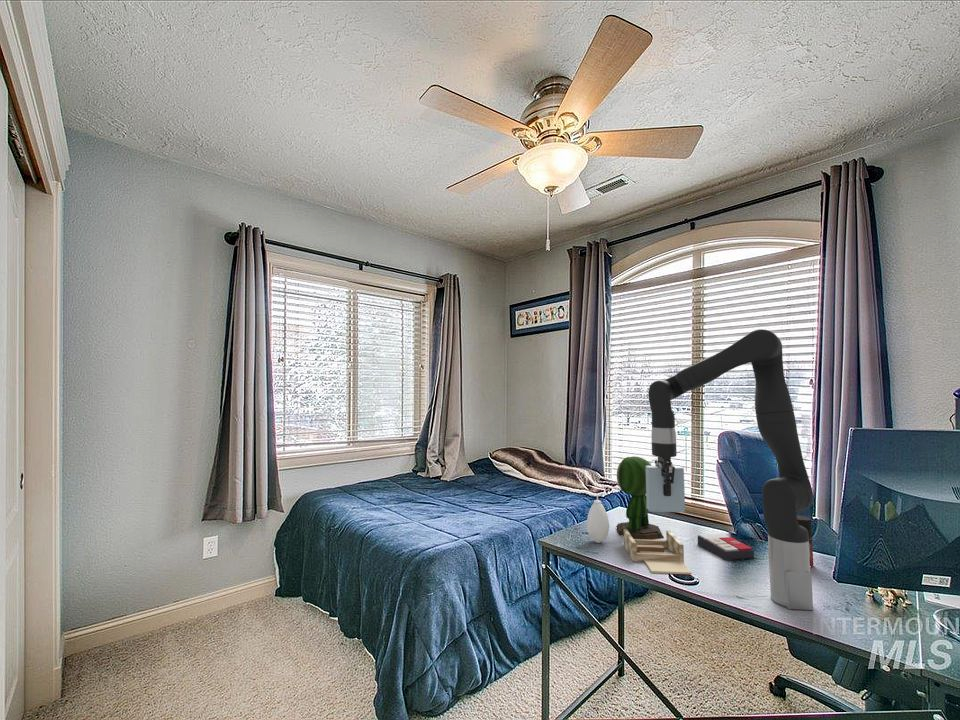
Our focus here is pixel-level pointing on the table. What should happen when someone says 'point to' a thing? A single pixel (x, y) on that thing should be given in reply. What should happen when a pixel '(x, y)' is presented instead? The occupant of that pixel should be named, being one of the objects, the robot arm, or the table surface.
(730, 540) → the dark flat box
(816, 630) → the table surface
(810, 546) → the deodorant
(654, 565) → the cork mat
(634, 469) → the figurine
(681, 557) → the rack
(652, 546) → the offcut slab upper
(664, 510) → the grey rectangular block
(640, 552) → the offcut slab lower
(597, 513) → the white rounded upright piece
